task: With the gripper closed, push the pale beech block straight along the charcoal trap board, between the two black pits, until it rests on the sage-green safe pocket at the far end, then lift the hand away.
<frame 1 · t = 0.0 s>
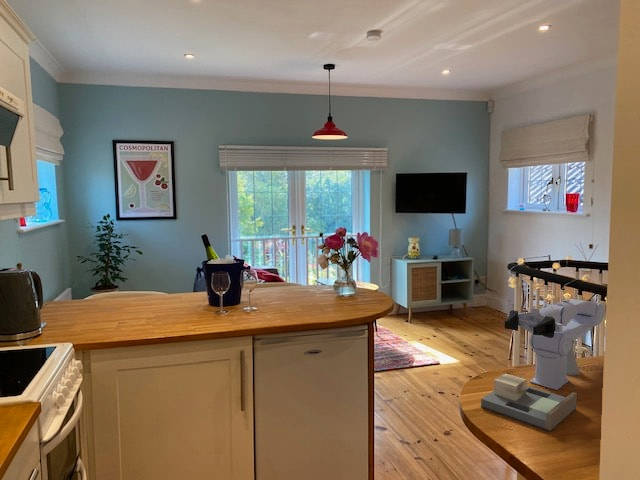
hand: (519, 327, 126), 21 cm above the kitchen counter, tool horizontal, fingers open, 7 cm apart
trap board: (528, 408, 126), on the kitchen counter
beech block: (510, 393, 129), point 2 cm above the kitchen counter, touching trap board
flask: (567, 372, 150), on the kitchen counter, touching arm
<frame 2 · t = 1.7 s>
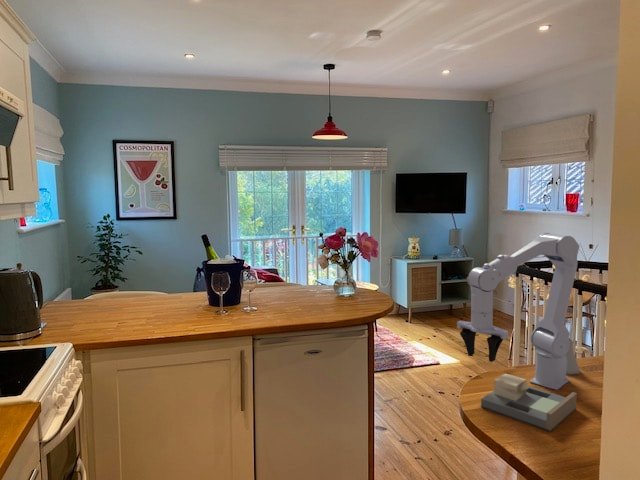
hand: (481, 357, 135), 10 cm above the kitchen counter, tool pointing down, fingers open, 6 cm apart
flask: (567, 371, 150), on the kitchen counter
everything else where it was.
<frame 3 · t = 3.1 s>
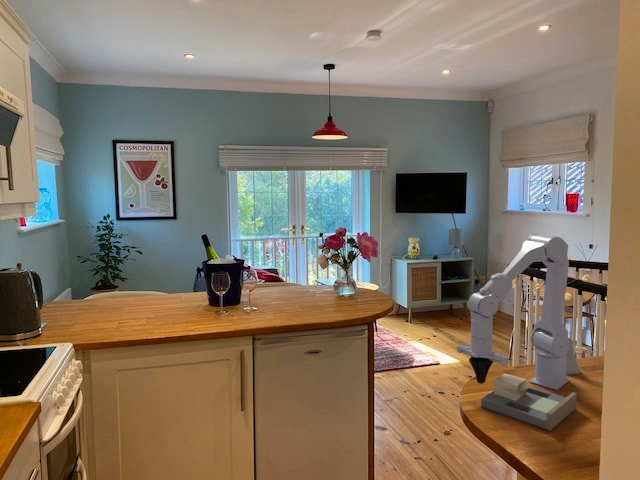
hand: (481, 382, 135), 3 cm above the kitchen counter, tool pointing down, fingers closed
nothing on the kitchen counter moved.
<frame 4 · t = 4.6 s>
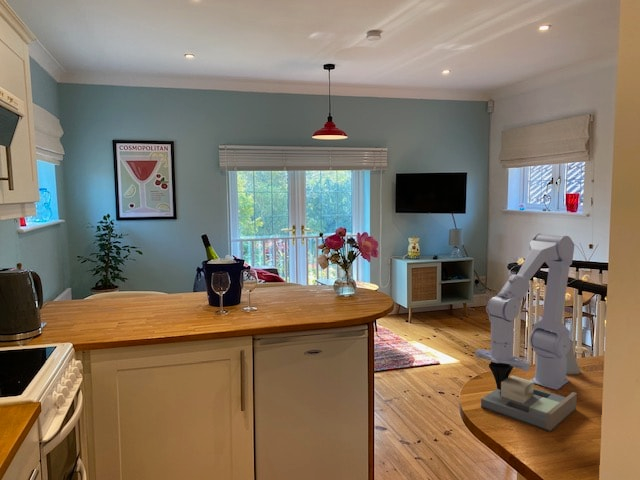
hand: (501, 388, 131), 3 cm above the kitchen counter, tool pointing down, fingers closed
beech block: (517, 396, 128), point 3 cm above the kitchen counter, touching gripper, trap board
everything else where it was.
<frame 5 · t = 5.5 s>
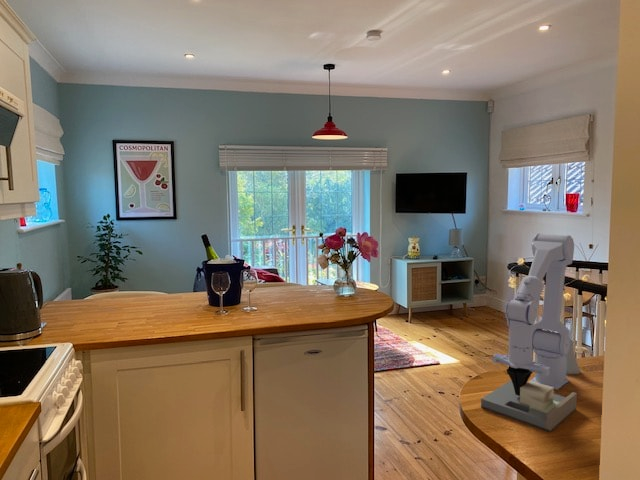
hand: (519, 394, 127), 3 cm above the kitchen counter, tool pointing down, fingers closed
beech block: (536, 402, 124), point 3 cm above the kitchen counter, touching gripper
everything else where it was.
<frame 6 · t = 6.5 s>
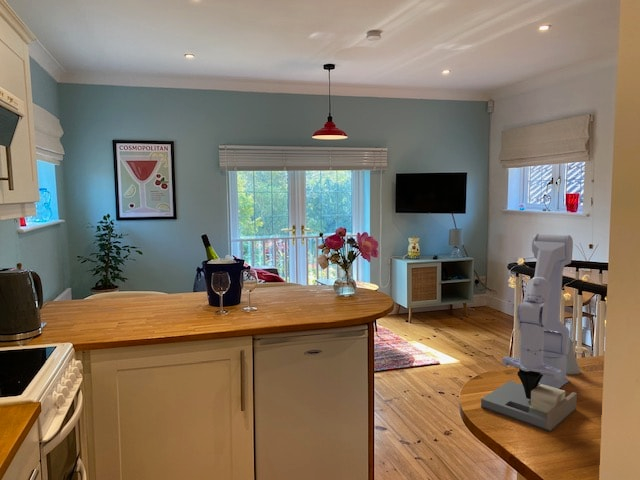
hand: (530, 397, 125), 3 cm above the kitchen counter, tool pointing down, fingers closed
beech block: (547, 405, 122), point 3 cm above the kitchen counter, touching gripper, trap board
everything else where it was.
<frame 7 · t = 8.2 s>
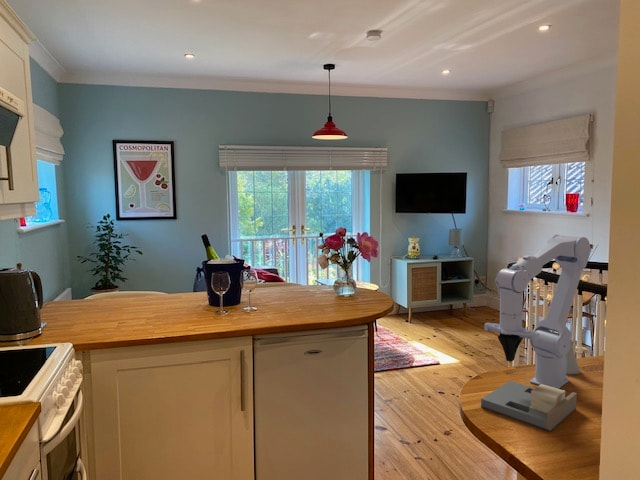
hand: (510, 360, 132), 10 cm above the kitchen counter, tool pointing down, fingers closed
beech block: (547, 405, 122), point 2 cm above the kitchen counter, touching trap board
everything else where it was.
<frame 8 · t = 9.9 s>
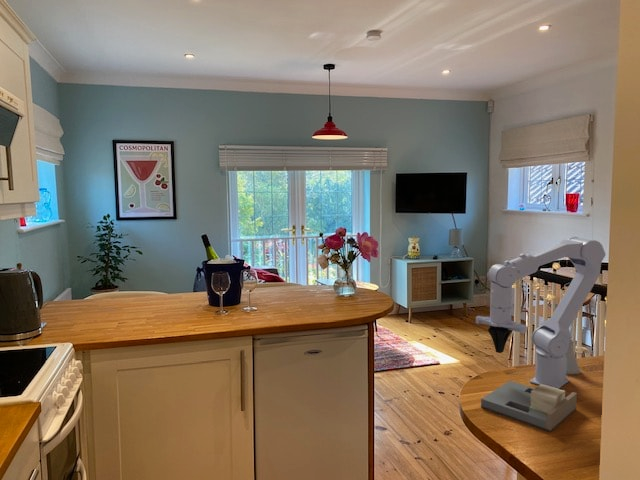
hand: (499, 351, 139), 10 cm above the kitchen counter, tool pointing down, fingers closed
nothing on the kitchen counter moved.
at the end: beech block 0.5 cm from the target spot on the trap board, point 2.5 cm above the trap board's base; beech block tilted 0° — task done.
